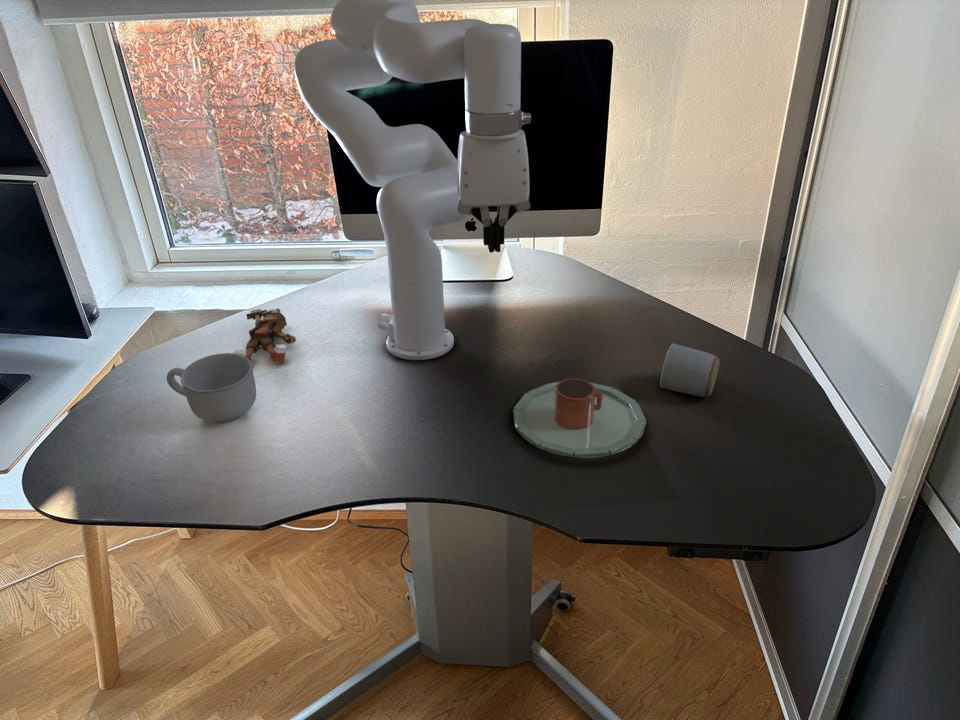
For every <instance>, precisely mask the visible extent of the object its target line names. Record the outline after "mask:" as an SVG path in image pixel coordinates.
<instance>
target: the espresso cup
mask: <svg viewBox="0 0 960 720" xmlns="http://www.w3.org/2000/svg"><path fill="white" fill-rule="evenodd" d="M558 382H559V383H558V384H557V385H556V388H555V411H554V419H555V421H556V423H557V424H558V425H560V426H561V427H564V428H567V429H573V430H578V429H584V428H587V427H589V426H590V425H591V424H592V423H593V419H594V411H595V410H600V409H601V408H602V396H603V394H602V393H601V392H600V391H599V392H596V389H595V387H594V385H593V384H591V383H592V382H591V383H590V381H588V380H585V379H583V378H566V379H563V380H561V381H558ZM595 397H597V405H595Z"/></svg>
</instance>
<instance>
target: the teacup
mask: <svg viewBox="0 0 960 720" xmlns="http://www.w3.org/2000/svg"><path fill="white" fill-rule="evenodd" d="M233 353H234V352H233ZM233 353H232V352H231V353H230V352H228V353H227V352H223V353H215V354H211V355H207V356H203V357H201V358H198V359H197V360H195V361H193V362H191V364H190V365H188V366H187V367H186V368H185V369H184V368H182V367H173V368H171V369H170V370H169V371H168V372H167V374H166V382H167V385H168V387H170V388H171V389H172V390H173V391H174V392H176V393H177V394H179V395H181V396H183V397H185V398H186V400H187V404H188V405H189V408H190V410H191V411H192V413H193V414H194V415H195V416H196V417H198V418H199V419H200V420H201V419H202V420H204V421H206V422H207V421H208V422H212V423H228V422H232V421H235V420H237V419H239V418H240V417H242V416H243V415H245V414H246V413H247V412H248V411H249V410H250V409H251V408H252V407H253V405H254V403H255V401H256V398H257V385H256V380H255V379H256V378H255V374H254V369H253V368H254V366H253V362H252V361H250V360H249V359H248V358H246V357H244V356H242V355H239V354H233ZM175 376H178V377H180V382H178V381H177V380H176V378H175ZM180 383H181V384H180Z"/></svg>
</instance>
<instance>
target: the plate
mask: <svg viewBox="0 0 960 720" xmlns="http://www.w3.org/2000/svg"><path fill="white" fill-rule="evenodd" d="M559 382H560V381H555V382H553V381H552V383H551V382H548V383H546V384H543V385H541V386H539V387H536V388H533V389H531V390H529V391H526V392H525V393H524V394H523V396H521V398H520V399H519V400H518V402H517V403H516V404H515V406H514V407H513V409H512V415H513V422H514V426H515V430H516V431H517V433H518V434H519V435H520V436H521V437H522V438H524V439H525V440H526V441H527V442H529V443H530V444H531V445H533V446H535V448H537V449H538V448H539V449H540V450H543V451H545V452H549V453H551V454H554V455H559V456H564V457H569V458H576V459H579V458H580V459H585V458H586V459H591V458H593V459H594V458H601V457H602V458H603V457H609V456H613V455H615V454H617V453H620V452H623V451H626V450H627V449H629V448H631V447H632V446H634V445H636V444H637V443H638V442H639V440H640V438H641V437H642V435H643V434H644V433H645V428H646V426H647V419H646V416H645V414H644V413H643V409H642V408H641V406H640V405H639V403H638V402H637V400H635V399H633V398H631V397H630V396H629V395H627V394H625V393H624V392H622V391H620V390H619V389H617V388H614V387H612V386H609V385H604V384H599V383H595V382H590V381H589V382H590V383H591V384H593V385H594V387H595V389H596V392H599V391H600V392H601V393H602V394H603V396H602V408H601V409H600V410H595V411H594V419H593V423H592V424H591V425H590V426H589V427H587V428H584V429H578V430H573V429H567V428H564V427H561V426H560V425H558V424H557V423H556V421H555V419H554V411H555V388H556V385H557V384H558V383H559ZM595 405H597V397H595Z"/></svg>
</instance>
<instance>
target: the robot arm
mask: <svg viewBox="0 0 960 720" xmlns="http://www.w3.org/2000/svg"><path fill="white" fill-rule="evenodd" d="M330 28H331V31H332V34H333V36H334V37H335V38H333V39H325V40H323V39H322V40H318V41H315V42H312V43H309V44H307V45H306V46H304V47H302V48H301V49H300V50H299V51H298V53H297V54H296V55H295V58H294V64H293V68H294V69H293V70H294V78H295V82H296V85H297V89H298V91H299V93H300V95H301V98H302V100H303V101H304V104H305V105H306V107H307V109H309V111H310V112H311V113H312V115H313V116H314V117H315V118H316V119H317V120H318V121H319V122H320V123H321V124H322V125H323V126H324V127H325V129H327V130H328V131H329V132H330V134H331V135H332V136H333V137H334V138H335V140H336V141H337V143H338V144H339V146H340V147H341V149H342V150H343V152H344V153H345V154H346V156H347V157H348V159H349V160H350V162H351V164H353V166H354V168H355V169H356V171H357V172H358V174H359V175H360V176H361V177H362V179H363V180H364V181H365V182H366V183H367V184H368V185H370V186H372V187H377V188H380V190H379V191H378V193H377V196H376V211H377V214H378V217H379V221H380V226H381V228H382V232H383V237H384V243H385V249H386V258H387V259H386V260H387V269H388V279H389V292H390V303H391V314H387V313H381V315H380V317H379V322H378V324H377V327H378V329H379V330H383V331H388V336H387V338H386V340H385V343H386V349H387V351H388V352H389V353H390V355H393V356H395V357H397V358H399V359H402V360H403V359H404V360H409V361H425V360H431V359H436V358H438V357H441V356H443V355H446V354H447V353H449V351H451V349H453V347H454V345H455V337H454V335H453V333H452V332H451V331H450V330H449V329H447V328H446V324H445V323H446V322H445V300H444V298H445V297H444V281H443V279H444V277H443V257H442V253H441V250H440V247H439V246H438V245H437V243H436V242H435V241H434V239H432V237H431V236H430V231H431V230H434V229H437V228H440V227H443V226H447V225H450V224H454V223H458V222H461V221H462V220H465V219H467V218H468V217H470V216H473V217H474V218H475V219H476V220H477V221H479V223H481V224H482V235H483V238H482V240H483V246H487V249H488V251H489V253H494V252H496V253H501V245H502V246H503V245H505V226H506V225H507V224H508V221H510V219H512V217H514V216H515V215H516V214H517V213H522V212H525V211H529V210H530V209H531V203H530V189H531V188H530V187H531V186H530V166H529V165H530V164H529V154H528V153H529V152H528V146H527V139H526V133H525V131H524V130H523V129H522V127H523V125H526V124H531V123H532V122H531V121H532V116H531V112H524V111H522V109H521V95H522V94H521V91H522V90H521V89H522V88H521V82H522V80H521V79H522V78H521V77H522V35H521V32H520V30H519V28H517V27H516V26H514V25H512V24H508V23H507V24H506V23H489V22H487V21H484V20H482V19H476V18H462V19H461V18H460V19H449V20H448V19H447V20H434V21H424V22H421V18H420V13H419V11H418V8H417V6H416V4H415V3H414V2H413V0H339V1H338V2H337V3H336V5H335V6H334V7H333V9H332V12H331V15H330ZM393 78H397V79H399V80H402V81H406V82H409V83H414V84H429V83H430V84H431V83H436V82H442V81H443V82H444V81H451V80H459V79H464V102H465V103H464V104H465V105H464V106H465V107H464V108H465V111H464V113H465V131H461V132H460V135H459V139H458V147H457V157H455V155H454V154H453V152H452V151H451V149H450V148H449V147H448V145H447V144H446V143H445V142H444V140H443V139H442V138H441V136H440V135H439V134H438V133H437V132H436V131H435V130H434V129H432V128H431V127H429V126H427V125H424V124H422V123H421V124H420V123H413V124H406V125H400V126H389V125H387V124H385V122H384V121H383V120H382V119H381V118H380V116H379V115H378V113H377V111H375V109H374V108H373V107H372V106H371V105H369V103H367V102H366V101H364V100H363V99H361V98H359V97H358V96H355V95H353V94H352V93H350V92H348V91H354V90H360V89H368V88H374V87H379V86H383V85H385V84H386V83H388V82H390V81H391V80H392V79H393ZM489 207H497V210H496V217H494V219H493V220H492V218H491V215H490V211H489V210H490V209H489Z"/></svg>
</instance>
